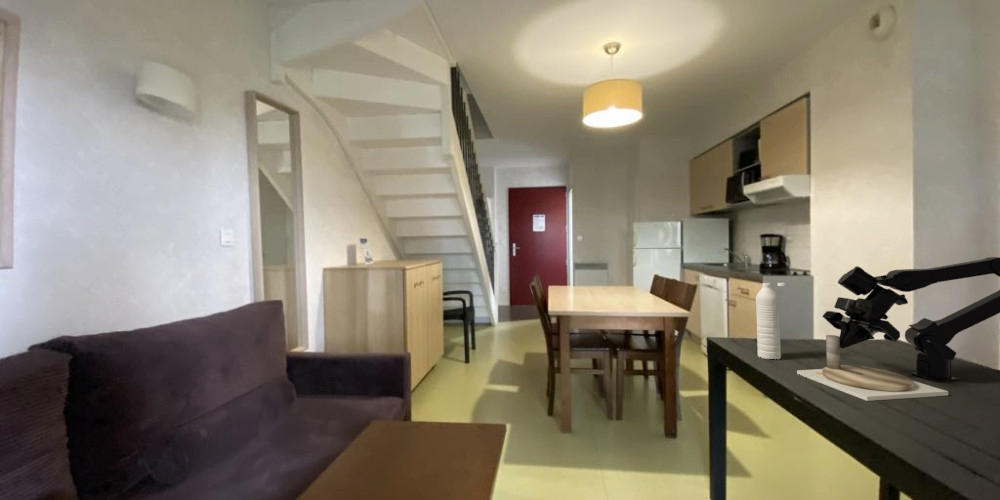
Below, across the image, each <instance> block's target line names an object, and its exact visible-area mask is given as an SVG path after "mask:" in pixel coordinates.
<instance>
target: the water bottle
mask: <svg viewBox="0 0 1000 500" xmlns="http://www.w3.org/2000/svg"><path fill="white" fill-rule="evenodd" d="M787 285H788V284H787V282H777V286H778V287H787ZM761 286H762V287H761V289H759V291H758V292H757V294H756V295H755V306H756V307H755V309H756V310H755V311H756V312H755V313H756V342H757V345H756V346H757V356H758V358H760V357H761V358H760V359H764V360H770V359H775V360H776V359H777V360H780V359H781V358H782V351H781V334H780V333H781V329H780V326H781V325H780V323H781V321H780V306H779V305H780V298H779V296H778V294H777V293H776V292H775V290H774V289H773V288H772V284H771V282H762V285H761Z"/></svg>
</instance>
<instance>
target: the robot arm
mask: <svg viewBox="0 0 1000 500" xmlns="http://www.w3.org/2000/svg"><path fill="white" fill-rule="evenodd" d="M993 274H994V275H995V276H997V277H999V278H1000V257H997V256H996V257H995V256H988V257H985V258H981V259H977V260H971V261H965V262H960V263H959V262H958V263H953V264H947V265H943V266H936V267H930V268H908V269H907V268H905V269H904V268H903V269H893V270H890V271H888V272H887V274H884V275H878V276H873V275H871V274H870V273H868V272H867V271H866V270H864V269H863V268H862V267H860V266H857V265H856V266H855V267H853V268H852V269H850V270H849V271H847V272H846V273H844V274H843V275H841V277H840V278H839V279H838V281H837V284H839V285H840V286H842V287H843V288H845V289H846V290H847V291H849V292H851V293H852V294H854V295H855V296H861V295H862V296H866V297H865V298H860V297H858V298H857V299H853V298H852V299H851V298H847V297H837V299H836V302H835V304H834V306H833V308H835V309H837V310H840V311H843V312H844V314H845V315H846V316H845V315H843V313H841V312H839V311H833V310H826V311H825V312H824V313H823V314H822V318H823V319H825V320H826V321H827V322H828V323H829V324H830V325H831V326H832V327H833V328H835V329H837V330H840V333H839V337H840V349H846V348H849V347H851V346H854V345H856V344H859V343H860V344H861V343H863V342H866V341H869V340H875V337H874V335H875V334H878V333H883V334H884V335H883V339H884V340H885V341H889V342H893V343H896V342H897V341H898V340H899V339H900V338H901V332H900V331H899V330H898V329H897V328H896V327H895V326H894V325H893V324H892V323H891V322H890V321H889V320H887V319H888V318H889V316H888V315H887V313H888V312H889V311H890V310H891V309H892V308H893V306H894V305H895V304H896V305H897V306H902V305H903V306H904V305H907V304H909V301H908V299H907V298H906V295H905V294H898V293H897V292H896V291H899V292H905V293H907V292H908V293H909V292H913V291H917V290H921V289H923V288H926V287H928V286H931V285H934V284H937V283H943V282H949V281H954V280H959V279H960V280H961V279H967V278H968V279H969V278H974V277H980V276H985V275H986V276H987V275H993ZM886 287H888V288H886ZM894 290H896V291H894ZM999 314H1000V289H998V290H997V291H995V292H994V293H993V292H992V293H991V294H989V295H987V296H985V297H983V298H981V299H978V300H977V301H975V302H973V303H971V304H968V305H967V306H965V307H963V308H961V309H959V310H956V311H955V312H952V313H951V314H949V315H947V316H945V317H943V318H940V319H937V320H931V319H929V318H927V317H924V318H922V319H920V320H919V321H917V322H916V323H912V324H909V325H908V326H909V327H908V328H907V329H906V330H905V333H904V339H905V340H906V342H908V344H910V345H911V346H913V348H914V350H915V351H916V352H918V353H917V354H916V360H915V361H916V364H915V365H916V371H915V372H911V376H914V377H915V376H916V377H919V378H923V379H926V380H930V381H933V382H937V383H938V382H939V383H940V382H941V383H942V382H953V381H954V382H956V381H959V380H960V379H959V377H955V376H952V360H954V359H955V357H956V355H957V352H956V351H955V350H953V348H951V347H950V346H948V344H949V343H950V342H951V341H952V340H953V339H954V338H955V336H956V335H957V334H959V333H961V332H963V331H965V330H967V329H969V328H971V327H974V326H975V325H978V324H981V322H984V321H986V320H988V319H990V318H992V317H995V316H996V315H999Z"/></svg>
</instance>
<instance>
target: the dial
mask: <svg viewBox="0 0 1000 500" xmlns="http://www.w3.org/2000/svg"><path fill="white" fill-rule="evenodd" d="M825 350H826V366H825V367H823V368H822V369H823V375H824V376H825V377H827V378H828V379H831V380H833V381H836V382H839V383H842V384H846V385H850V386H855V387H860V388H867V389H874V390H885V391H903V390H909V389H912V388H913V387H914V381H915V380H913V379H912V378H910V377H908V376H906V375H904V374H900V373H898V372H893V371H891V370H887V369H880V368H874V367H868V366H865V367H862V366H860V365H848V364H845V365H843V364H841V348H840V335H839V336H838V335H835V334H834V335H833V334H826V335H825Z"/></svg>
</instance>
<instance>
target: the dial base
mask: <svg viewBox="0 0 1000 500" xmlns="http://www.w3.org/2000/svg"><path fill="white" fill-rule="evenodd" d="M862 367H866V366H862ZM796 373H797V375H799V374H800V375H799V376H801V375H802V377H804V378H806V377H807V379H809V380H812V381H815V382H817V383H820V384H822V385H825V386H828V387H830V388H832V389H835V390H838V391H841V392H842V393H846V394H848V395H851V396H854V397H856V398H859V399H862V400H863V401H866V402H867V401H868V402H870V401H884V400H885V401H886V400H903V399H915V398H930V397H932V398H933V397H945V396H946V397H947V396H949V391H948V390H945V389H941V388H938V387H936V386H935V387H934V386H931V385H929V384H925V383H921V382H918V381H915V380H913V381H914V387H913V388H912V389H909V390H903V391H885V390H874V389H867V388H860V387H855V386H850V385H846V384H842V383H839V382H836V381H833V380H831V379H828V378H827V377H825V376H824V375H823V368H818V369H804V370H803V369H800V370H799V369H798V370H797V371H796Z"/></svg>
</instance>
